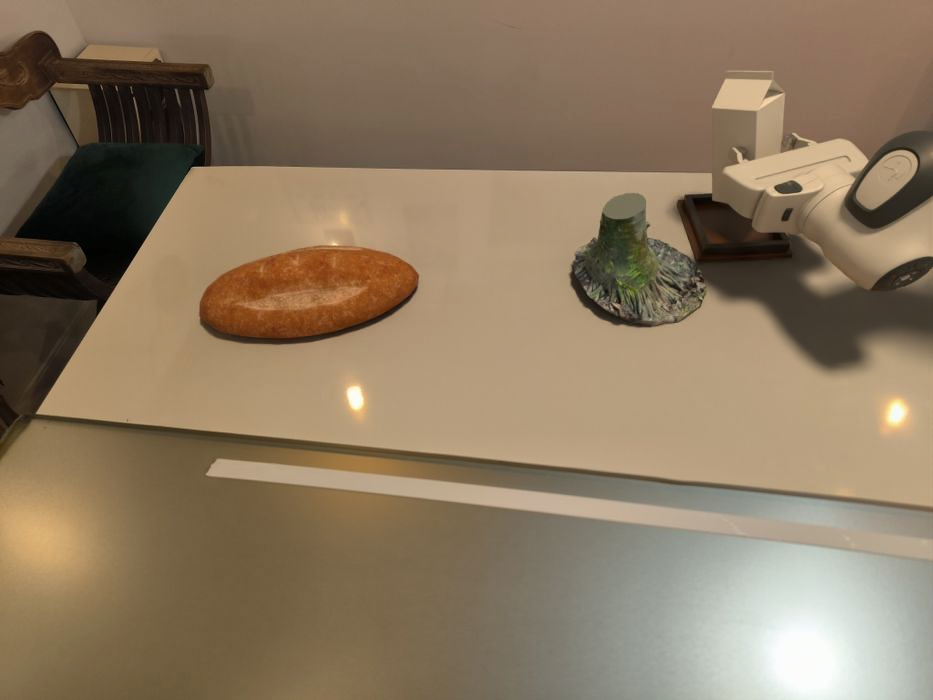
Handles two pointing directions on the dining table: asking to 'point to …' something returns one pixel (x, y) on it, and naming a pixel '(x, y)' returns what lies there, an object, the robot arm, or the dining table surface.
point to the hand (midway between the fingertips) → (760, 144)
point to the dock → (727, 233)
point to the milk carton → (746, 120)
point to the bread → (307, 292)
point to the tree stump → (637, 268)
